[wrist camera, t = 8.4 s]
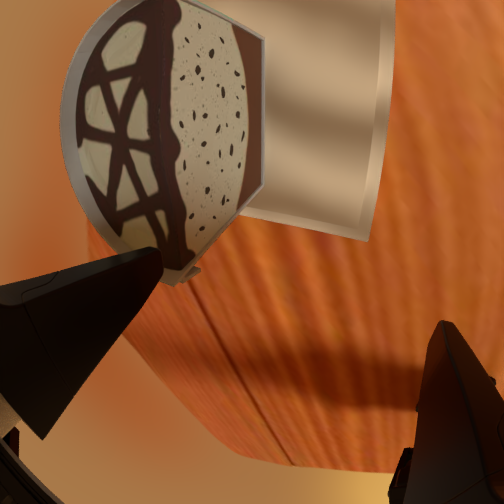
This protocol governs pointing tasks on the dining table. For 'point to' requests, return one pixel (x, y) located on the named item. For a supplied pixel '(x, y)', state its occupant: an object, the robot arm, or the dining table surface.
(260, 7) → the serving board
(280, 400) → the dining table surface
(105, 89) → the food container
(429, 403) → the robot arm
